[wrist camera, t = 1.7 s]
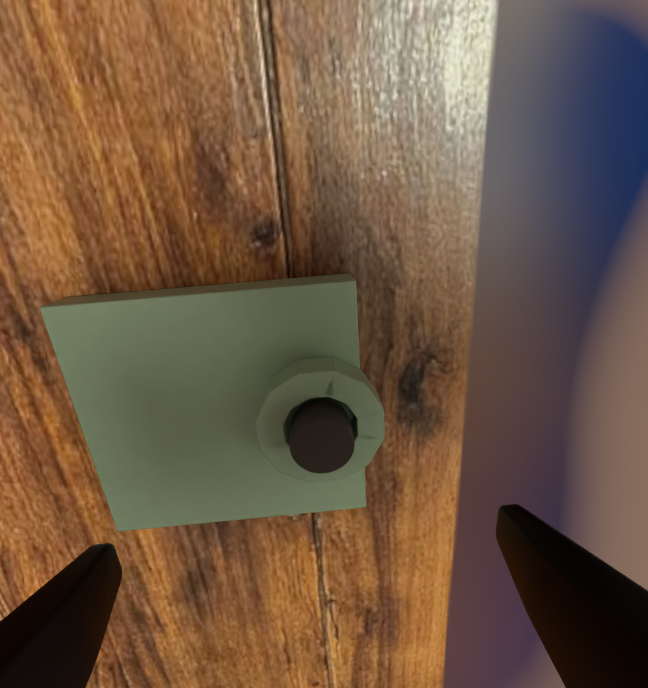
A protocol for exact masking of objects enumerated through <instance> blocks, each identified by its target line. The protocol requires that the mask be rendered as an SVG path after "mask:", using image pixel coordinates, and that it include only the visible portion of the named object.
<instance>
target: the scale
mask: <svg viewBox="0 0 648 688" xmlns="http://www.w3.org/2000/svg"><path fill="white" fill-rule="evenodd" d="M40 311H41V314H42V317H43V320H44V323H45V326H46V329H47V331H48V334H49V337H50V340H51V343H52V346H53V349H54V351H55V354H56V357H57V360H58V363H59V366H60V369H61V371H62V374H63V377H64V380H65V383H66V386H67V389H68V391H69V394H70V397H71V400H72V403H73V406H74V409H75V411H76V414H77V417H78V420H79V423H80V426H81V429H82V431H83V434H84V437H85V440H86V443H87V446H88V449H89V451H90V454H91V457H92V460H93V463H94V466H95V469H96V471H97V474H98V477H99V480H100V483H101V486H102V489H103V491H104V494H105V497H106V500H107V503H108V506H109V509H110V511H111V514H112V517H113V520H114V523H115V526H116V529H117V531H128V530H138V529H148V528H158V527H169V526H179V525H189V524H199V523H209V522H220V521H230V520H240V519H250V518H261V517H271V516H281V515H291V514H301V513H312V512H322V511H332V510H342V509H352V508H363V507H366V488H365V466H367V465H368V463H370V462H371V460H372V458H373V457H374V455H375V453H376V452H377V450H378V449H379V447H380V445H381V444H382V442H383V440H384V437H385V424H384V409H383V406H382V403H381V401H380V398H379V396H378V393H377V391H376V390H375V388H374V387H373V386H372V384H371V383H370V381H369V380H368V379H367V377H366V376H365V374H364V373H363V372H362V370H360V356H359V334H358V313H357V291H356V281H355V279H354V278H353V276H352V275H351V274H350V273H348V274H336V275H324V276H312V277H300V278H288V279H276V280H264V281H253V282H241V283H229V284H217V285H205V286H193V287H181V288H170V289H158V290H146V291H134V292H122V293H110V294H98V295H87V296H75V297H66V298H63V299H61V300H58V301H55V302H53V303H50V304H47V305H44V306H42V307H40ZM316 400H327V401H331V402H334V403H336V404H338V405H339V406H341V407H342V408H343V409H344V410H345V411H346V413H347V414H348V416H349V419H350V423H351V428H352V432H353V437H354V442H355V447H354V452H353V455H352V457H351V458H350V460H349V461H348V462H347V463H346V464H345V465H344V466H343V467H341V468H340V469H338V470H336V471H333V472H330V473H321V474H320V473H312V472H309V471H307V470H305V469H303V468H301V467H300V466H299V465H298V464H297V463H296V462H295V461H294V460H293V458H292V456H291V453H290V431H291V421H292V418H293V416H294V414H295V413H296V412H297V410H298V409H299V408H300V407H302V406H303V405H305V404H307V403H309V402H312V401H316Z"/></svg>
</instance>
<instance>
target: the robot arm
mask: <svg viewBox="0 0 648 688" xmlns="http://www.w3.org/2000/svg"><path fill="white" fill-rule="evenodd" d="M496 538H497V541H498V544H499V547H500V549H501V551H502V554H503V556H504V559H505V561H506V564H507V566H508V569H509V571H510V573H511V576H512V578H513V581H514V583H515V585H516V588H517V590H518V593H519V595H520V598H521V600H522V602H523V605H524V607H525V609H526V612H527V614H528V616H529V618H530V620H531V621H532V624H533V626H534V628H535V630H536V631H537V633H538V635H539V637H540V639H541V641H542V643H543V645H544V647H545V649H546V651H547V653H548V654H549V656H550V658H551V660H552V662H553V664H554V666H555V668H556V670H557V672H558V673H559V675H560V677H561V679H562V681H563V683H564V685H565V687H566V688H648V591H647V590H646V589H644V588H643V587H641V586H640V585H638V584H637V583H635V582H634V581H632V580H631V579H629V578H628V577H626V576H625V575H623V574H622V573H620V572H619V571H617V570H616V569H614V568H613V567H611V566H610V565H608V564H607V563H605V562H604V561H602V560H601V559H599V558H598V557H596V556H595V555H593V554H592V553H590V552H589V551H587V550H586V549H584V548H583V547H581V546H580V545H578V544H577V543H575V542H574V541H572V540H571V539H569V538H568V537H566V536H565V535H563V534H562V533H560V532H559V531H557V530H556V529H554V528H553V527H551V526H550V525H548V524H547V523H545V522H544V521H542V520H541V519H539V518H538V517H536V516H535V515H533V514H532V513H530V512H529V511H527V510H526V509H524V508H523V507H521V506H520V505H517V504H512V505H502V506H501V507H500V508H499V510H498V518H497V526H496ZM121 579H122V568H121V565H120V562H119V559H118V556H117V553H116V550H115V548H114V546H113V545H112V544H110V543H107V544H96V545H93V546H91V547H89V548H88V549H87V550H86V551H84V552H83V553H82V554H81V555H80V556H78V557H77V558H76V559H75V560H74V561H72V562H71V563H70V564H69V565H68V566H66V567H65V568H64V569H63V570H62V571H60V572H59V573H58V574H57V575H56V576H54V577H53V578H52V579H51V580H50V581H48V582H47V583H46V584H45V585H44V586H42V587H41V588H40V589H39V590H38V591H36V592H35V593H34V594H33V595H32V596H30V597H29V598H28V599H27V600H26V601H24V602H23V603H22V604H21V605H20V606H18V607H17V608H16V609H15V610H14V611H12V612H11V613H10V614H9V615H8V616H6V617H5V618H4V619H3V620H2V621H0V688H85V687H86V685H87V682H88V680H89V678H90V675H91V673H92V670H93V667H94V665H95V662H96V659H97V657H98V654H99V651H100V648H101V645H102V641H103V638H104V635H105V632H106V628H107V625H108V622H109V619H110V615H111V612H112V609H113V605H114V602H115V599H116V596H117V592H118V589H119V586H120V583H121Z"/></svg>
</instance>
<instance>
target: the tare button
mask: <svg viewBox="0 0 648 688" xmlns="http://www.w3.org/2000/svg"><path fill="white" fill-rule="evenodd" d="M354 447H355V442H354V437H353V432H352V428H351V423H350V419H349V416H348V414H347V413H346V411H345V410H344V409H343V408H342V407H341V406H339V405H338V404H336V403H334V402H331V401H327V400H316V401H312V402H309V403H307V404H305V405H303V406H302V407H300V408H299V409H298V410H297V412H296V413H295V414H294V416H293V418H292V421H291V431H290V453H291V456H292V458H293V460H294V461H295V462H296V463H297V464H298V465H299V466H300V467H301V468H303V469H305V470H307V471H309V472H312V473H320V474H321V473H330V472H333V471H336V470H338V469H340V468H341V467H343V466H344V465H345V464H346V463H347V462H348V461H349V460H350V458H351V457H352V455H353V452H354Z"/></svg>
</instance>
